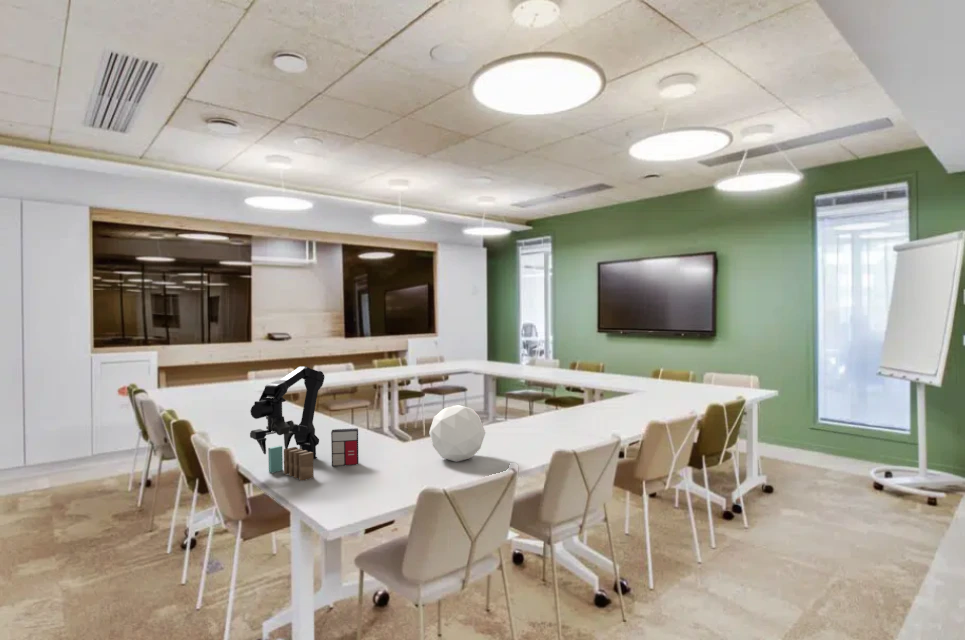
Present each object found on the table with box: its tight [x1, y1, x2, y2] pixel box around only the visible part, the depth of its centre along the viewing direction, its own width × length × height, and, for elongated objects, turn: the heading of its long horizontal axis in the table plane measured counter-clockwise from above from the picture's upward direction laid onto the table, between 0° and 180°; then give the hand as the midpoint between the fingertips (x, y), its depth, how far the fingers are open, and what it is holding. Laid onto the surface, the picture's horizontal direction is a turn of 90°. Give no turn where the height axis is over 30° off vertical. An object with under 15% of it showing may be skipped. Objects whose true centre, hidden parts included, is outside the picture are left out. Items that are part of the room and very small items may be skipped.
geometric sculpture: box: [428, 404, 486, 463], centre depth 233 cm, size 24×25×25 cm
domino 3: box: [288, 448, 303, 477], centre depth 213 cm, size 2×5×10 cm, turn 138°
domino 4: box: [293, 450, 308, 479], centre depth 210 cm, size 2×5×10 cm, turn 138°
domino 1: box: [267, 445, 284, 474], centre depth 218 cm, size 2×5×10 cm, turn 138°
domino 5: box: [298, 452, 314, 481], centre depth 208 cm, size 2×5×10 cm, turn 138°
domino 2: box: [283, 446, 299, 475], centre depth 216 cm, size 2×5×10 cm, turn 138°
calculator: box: [330, 427, 360, 467], centre depth 226 cm, size 11×4×15 cm, turn 101°
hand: (275, 451), depth 218 cm, fingers open, 9 cm apart
